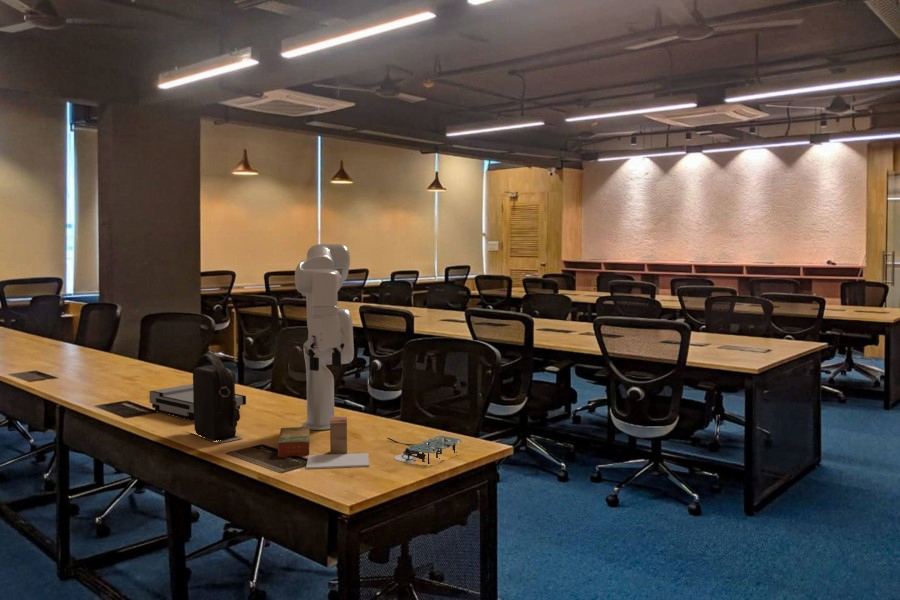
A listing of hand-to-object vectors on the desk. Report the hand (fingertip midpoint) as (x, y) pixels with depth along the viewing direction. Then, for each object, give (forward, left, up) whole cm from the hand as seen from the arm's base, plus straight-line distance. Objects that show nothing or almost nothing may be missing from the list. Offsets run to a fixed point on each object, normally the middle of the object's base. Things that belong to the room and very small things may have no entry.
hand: (325, 367), depth 218 cm
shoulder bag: (-28, -39, -27) cm, 55 cm away
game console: (-65, -51, -27) cm, 87 cm away
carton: (-9, -10, -27) cm, 31 cm away
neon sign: (0, +27, -28) cm, 38 cm away
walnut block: (-1, +4, -27) cm, 27 cm away
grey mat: (+8, +4, -27) cm, 28 cm away
